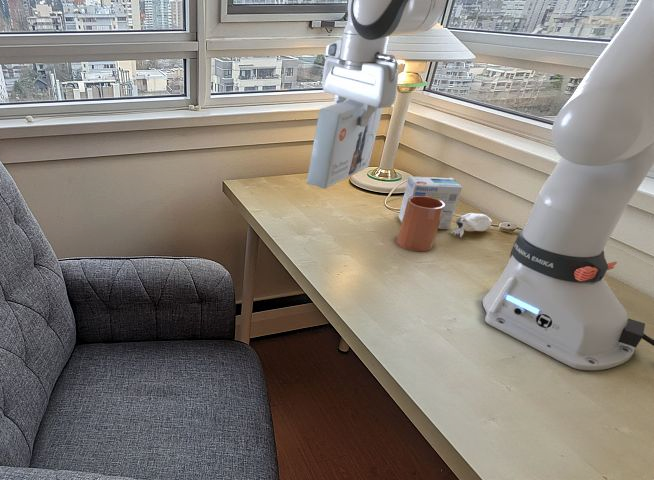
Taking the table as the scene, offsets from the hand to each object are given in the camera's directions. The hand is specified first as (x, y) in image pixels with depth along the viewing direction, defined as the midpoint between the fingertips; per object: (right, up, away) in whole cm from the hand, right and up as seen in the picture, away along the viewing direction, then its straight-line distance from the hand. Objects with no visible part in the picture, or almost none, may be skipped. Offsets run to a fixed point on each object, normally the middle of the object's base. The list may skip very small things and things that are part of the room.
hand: (350, 121), depth 103 cm
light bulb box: (+22, -20, +14) cm, 33 cm away
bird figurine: (+32, -23, +10) cm, 40 cm away
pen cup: (+16, -26, +4) cm, 31 cm away
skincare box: (0, -10, +7) cm, 12 cm away
